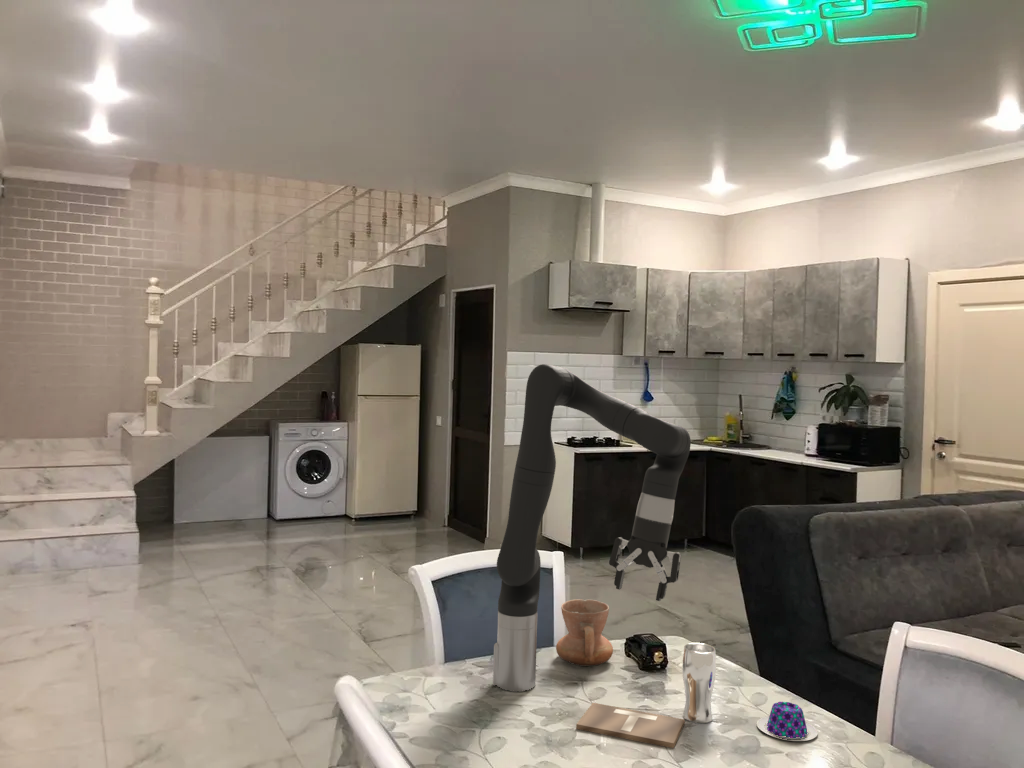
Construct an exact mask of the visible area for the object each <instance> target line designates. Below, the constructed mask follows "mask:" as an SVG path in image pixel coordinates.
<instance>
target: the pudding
mask: <svg viewBox="0 0 1024 768" xmlns="http://www.w3.org/2000/svg"><path fill="white" fill-rule="evenodd" d="M767 722H768V723H767ZM765 723H766V724H767V725H766V729H767V730H765V728H764V725H765ZM756 726H757V728H758V729H759V731H762V732H763V733H765V734H767V735H769V736H771V737H773V738H777V739H780V740H784V741H788V740H787V739H788V738H787V739H782V738H783V737H782V738H779V736H786V737H790V738H796V737H800V738H799V739H801V740H789V741H792V742H805V741H810V740H813V739H815V738H817V736H818V730H817V728H815V726H814V725H812V724H810V723H808V722H806V719H805V715H804V710H803V708H801V706H800V705H798V704H796V703H792V702H789V701H778V702H775V703H773V704H772V707H771V710H770V713H769V715H768V716H763V717H761V718H759V719H757V722H756ZM767 726H768V727H767ZM807 729H809V731H810V732H811V735H810V736H809V737H808V738H805V737H806V735H805V734H807V733H808V732H807ZM767 731H768V732H767ZM769 731H770V733H771V734H770V733H769ZM772 732H773V733H772ZM772 734H773V735H772ZM774 734H775V735H778V737H776V736H774ZM807 735H808V734H807ZM786 737H785V738H786ZM802 737H804V738H805V739H802ZM796 739H797V738H796Z"/></svg>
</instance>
